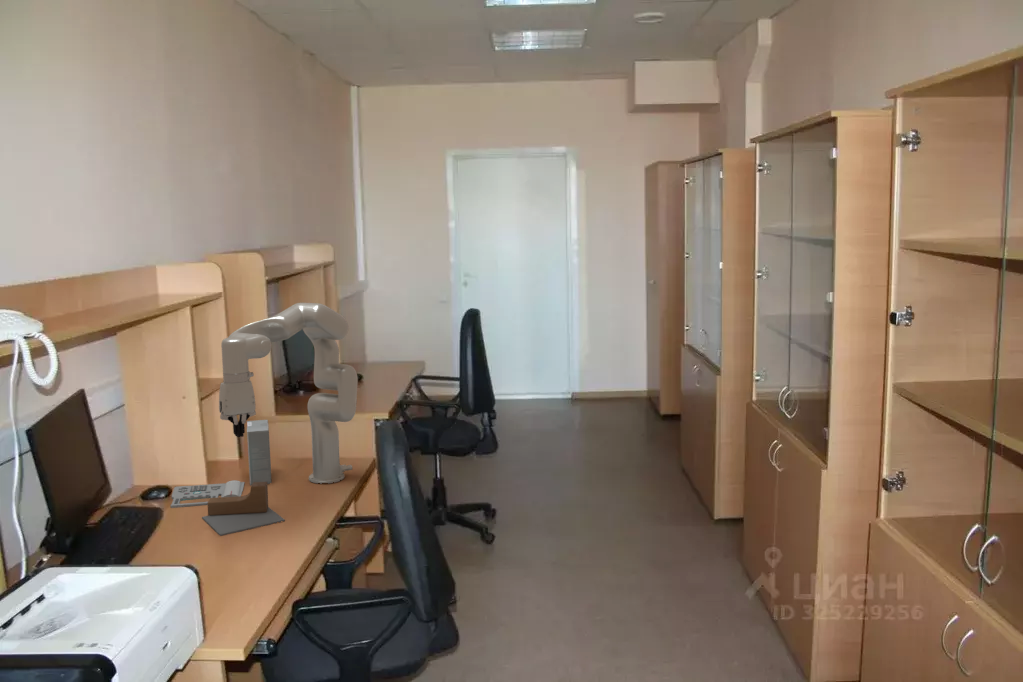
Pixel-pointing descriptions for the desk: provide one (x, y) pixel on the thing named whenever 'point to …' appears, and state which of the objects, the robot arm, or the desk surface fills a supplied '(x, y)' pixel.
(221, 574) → the desk surface
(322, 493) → the desk surface
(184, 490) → the office telephone
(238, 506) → the wooden block
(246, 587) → the desk surface
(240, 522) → the mat
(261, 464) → the hard drive box
